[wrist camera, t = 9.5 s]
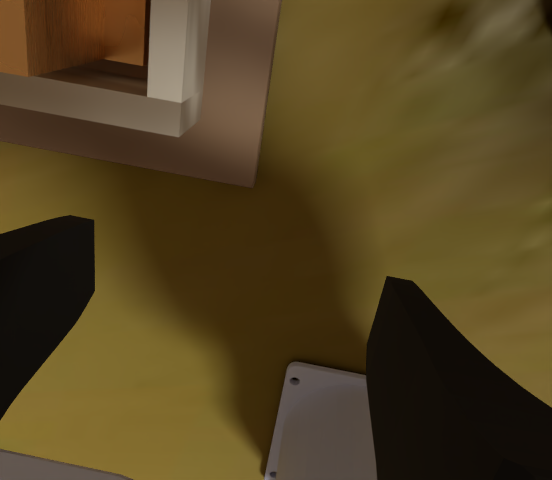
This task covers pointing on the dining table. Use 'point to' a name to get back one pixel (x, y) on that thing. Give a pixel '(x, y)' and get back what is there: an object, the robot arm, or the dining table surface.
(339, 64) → the dining table surface
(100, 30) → the wooden stepped block
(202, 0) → the well block
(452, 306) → the dining table surface
